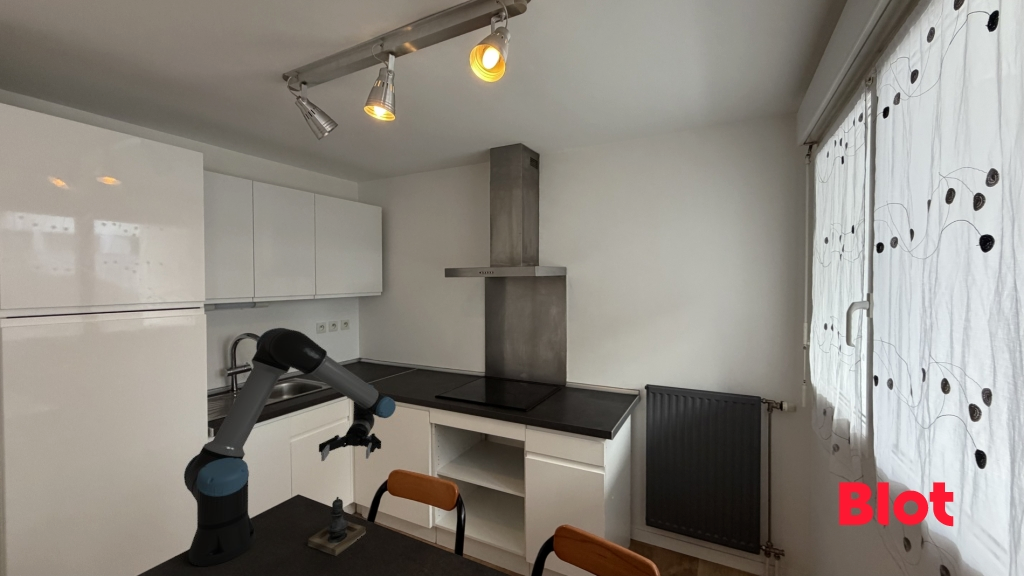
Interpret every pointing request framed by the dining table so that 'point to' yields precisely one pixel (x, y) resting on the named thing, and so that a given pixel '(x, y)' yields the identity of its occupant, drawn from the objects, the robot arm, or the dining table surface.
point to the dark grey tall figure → (337, 523)
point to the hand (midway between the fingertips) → (345, 455)
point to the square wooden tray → (334, 549)
